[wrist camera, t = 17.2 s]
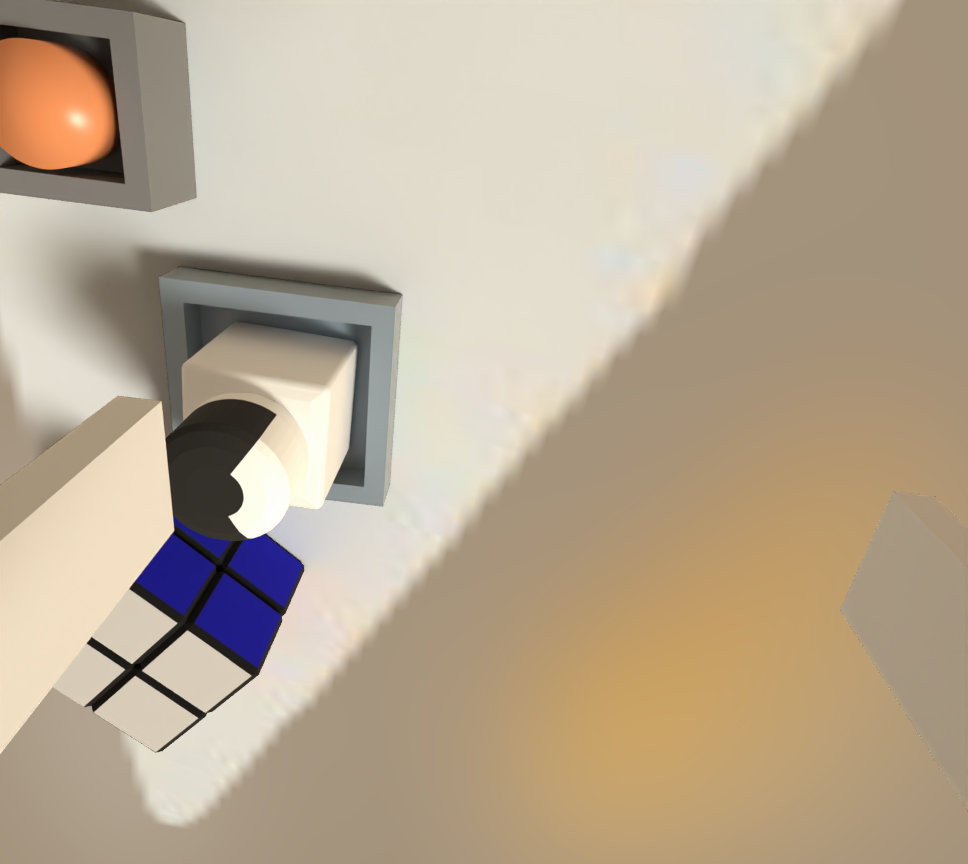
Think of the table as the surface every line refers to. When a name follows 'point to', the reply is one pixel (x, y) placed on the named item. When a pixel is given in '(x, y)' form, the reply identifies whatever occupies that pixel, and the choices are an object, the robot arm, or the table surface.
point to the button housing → (140, 105)
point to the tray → (310, 309)
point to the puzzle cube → (184, 635)
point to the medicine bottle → (259, 428)
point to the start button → (55, 105)
